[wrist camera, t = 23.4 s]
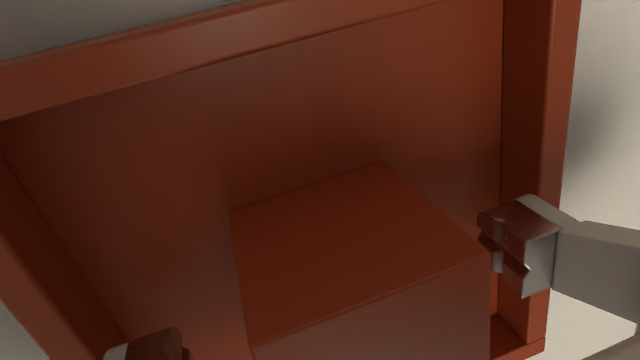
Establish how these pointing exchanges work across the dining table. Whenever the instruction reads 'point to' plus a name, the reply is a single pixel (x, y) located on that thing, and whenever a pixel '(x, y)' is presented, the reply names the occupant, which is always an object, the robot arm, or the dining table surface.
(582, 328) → the dining table surface
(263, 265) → the rust block
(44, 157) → the rust tray
